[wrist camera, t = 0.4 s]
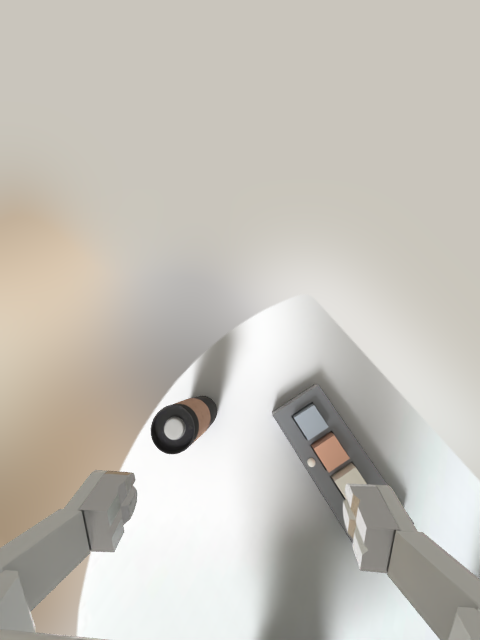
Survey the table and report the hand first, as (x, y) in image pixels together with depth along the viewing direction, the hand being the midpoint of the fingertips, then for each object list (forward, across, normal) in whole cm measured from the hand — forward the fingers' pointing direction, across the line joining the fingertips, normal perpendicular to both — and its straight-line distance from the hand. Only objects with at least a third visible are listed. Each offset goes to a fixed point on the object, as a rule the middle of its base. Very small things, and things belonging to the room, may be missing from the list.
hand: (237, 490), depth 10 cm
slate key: (+41, +12, -26) cm, 51 cm away
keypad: (+40, +18, -35) cm, 56 cm away
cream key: (+36, +20, -36) cm, 55 cm away
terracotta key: (+39, +16, -31) cm, 52 cm away
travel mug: (+44, -12, -27) cm, 54 cm away
